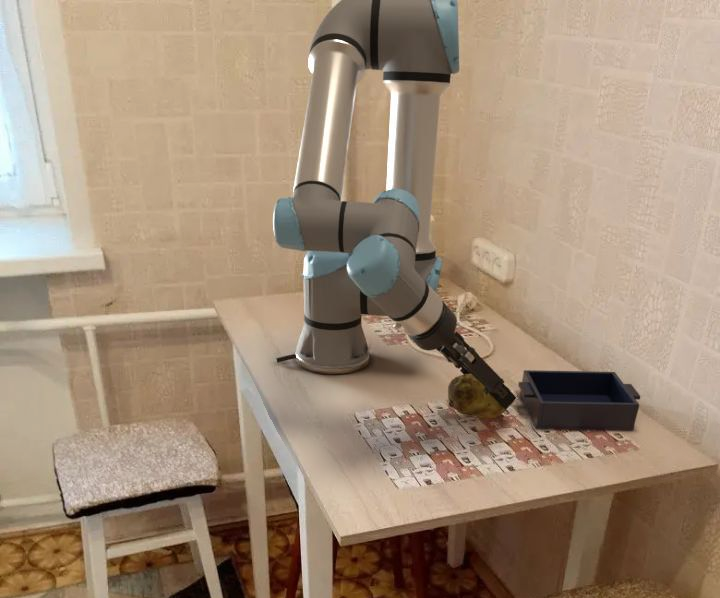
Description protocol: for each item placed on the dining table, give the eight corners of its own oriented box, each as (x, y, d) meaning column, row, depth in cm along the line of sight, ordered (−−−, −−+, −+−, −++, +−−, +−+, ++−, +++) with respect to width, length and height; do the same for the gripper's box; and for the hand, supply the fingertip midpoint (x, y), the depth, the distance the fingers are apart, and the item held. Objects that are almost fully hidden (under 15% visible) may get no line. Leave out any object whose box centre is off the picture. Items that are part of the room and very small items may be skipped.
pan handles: (523, 397, 132) (524, 394, 131) (518, 385, 136) (518, 381, 136) (639, 399, 132) (640, 396, 132) (630, 387, 137) (631, 383, 136)
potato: (522, 423, 128) (529, 380, 123) (453, 430, 125) (457, 387, 120) (503, 401, 134) (509, 361, 130) (436, 408, 131) (440, 366, 127)
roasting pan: (535, 428, 130) (540, 403, 127) (519, 394, 142) (523, 370, 139) (633, 430, 131) (639, 404, 128) (609, 396, 142) (614, 371, 140)
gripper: (379, 315, 122) (452, 387, 137) (441, 360, 107) (516, 435, 122) (409, 279, 121) (480, 356, 136) (476, 320, 106) (547, 401, 121)
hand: (497, 393), depth 129 cm, fingers closed on potato, 7 cm apart
